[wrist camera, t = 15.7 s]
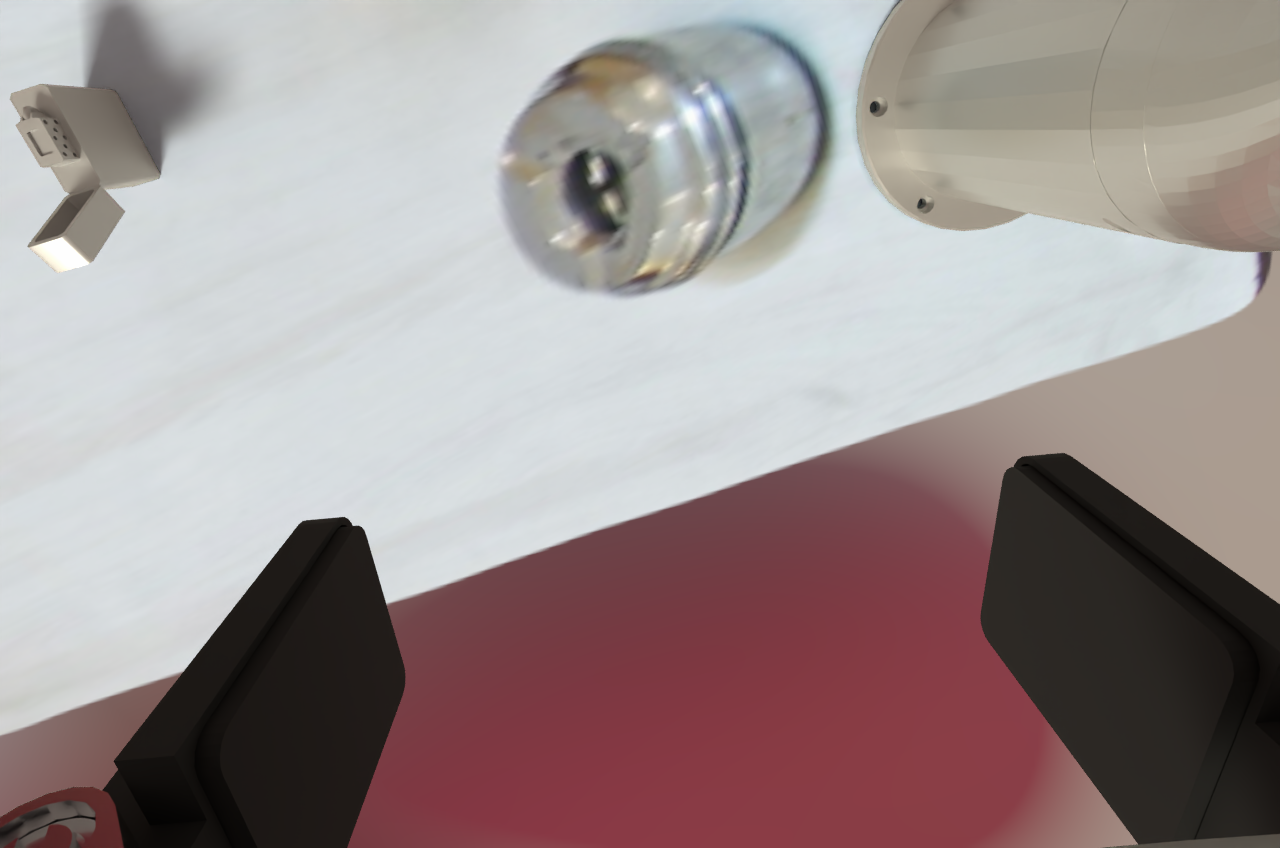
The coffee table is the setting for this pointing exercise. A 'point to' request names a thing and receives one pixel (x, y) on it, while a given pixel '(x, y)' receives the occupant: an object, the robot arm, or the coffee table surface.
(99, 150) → the lighter
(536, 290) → the coffee table surface
